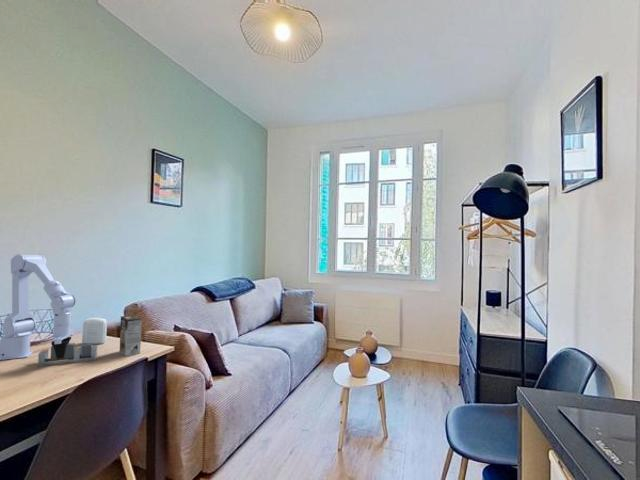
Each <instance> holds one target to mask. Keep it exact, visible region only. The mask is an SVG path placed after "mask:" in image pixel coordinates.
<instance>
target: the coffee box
mask: <svg viewBox="0 0 640 480" xmlns="http://www.w3.org/2000/svg"><path fill="white" fill-rule="evenodd" d="M142 321H143V320H142V317H140V316H138V315H136V314H133V315H123V316H120V325H119V326H120V328H119V329H120V330H119V331H120V332H119V352H120V353H121V354H122V355H124V356H125V357H128V356H133V355H138V354H137V353H139V354H140V353H141V345H142V344H141V342H142V325H143V324H142V323H143V322H142Z"/></svg>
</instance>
